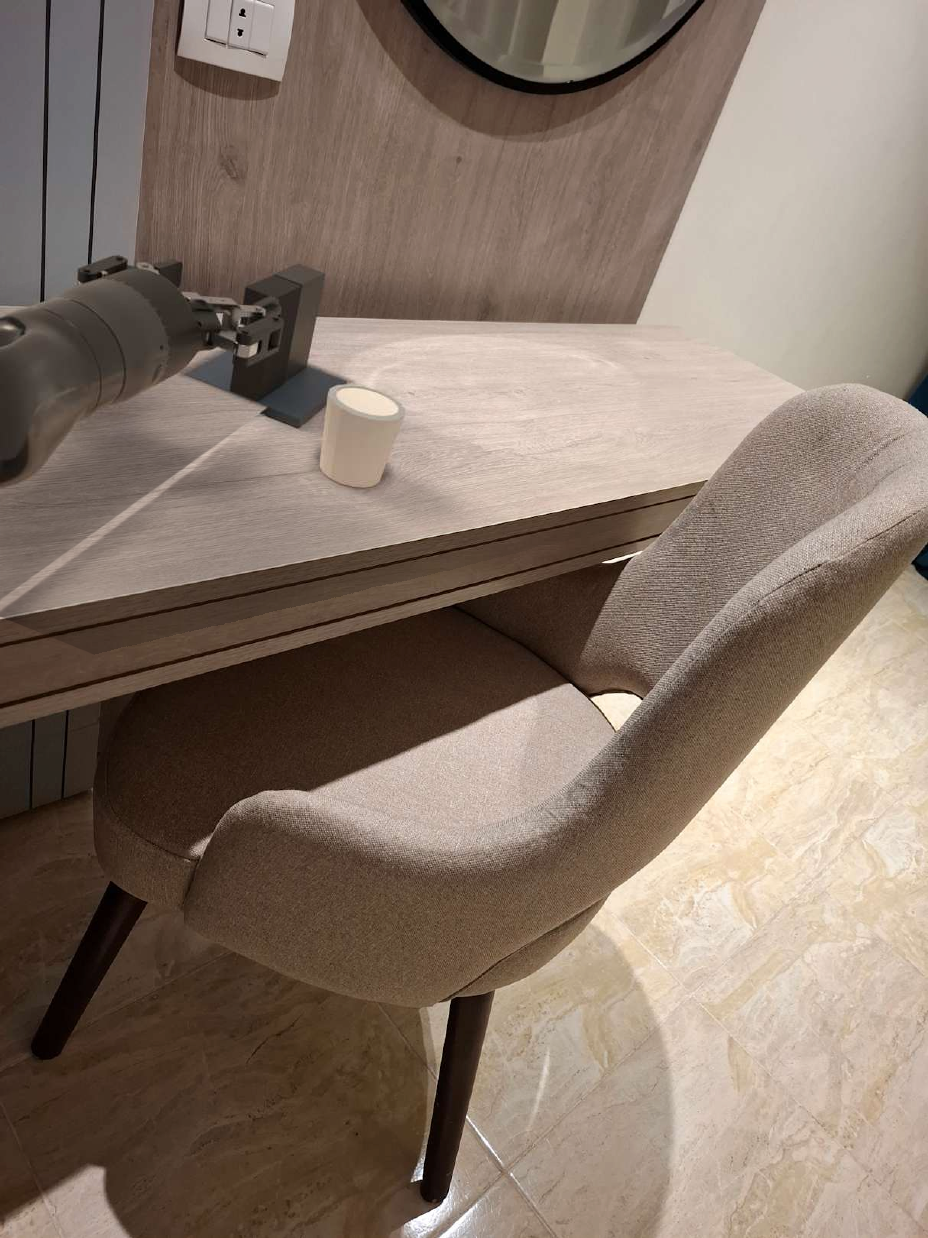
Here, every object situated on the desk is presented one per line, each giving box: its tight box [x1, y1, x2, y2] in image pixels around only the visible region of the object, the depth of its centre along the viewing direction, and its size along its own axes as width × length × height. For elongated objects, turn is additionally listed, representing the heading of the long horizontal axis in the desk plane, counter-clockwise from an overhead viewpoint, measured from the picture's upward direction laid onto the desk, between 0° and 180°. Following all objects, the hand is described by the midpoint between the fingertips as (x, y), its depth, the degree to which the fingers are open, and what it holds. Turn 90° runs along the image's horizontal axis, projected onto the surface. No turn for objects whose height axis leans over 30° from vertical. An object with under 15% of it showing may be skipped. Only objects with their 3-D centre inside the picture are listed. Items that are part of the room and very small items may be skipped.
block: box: [230, 274, 302, 401], centre depth 86 cm, size 3×6×10 cm, turn 165°
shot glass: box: [319, 383, 406, 489], centre depth 80 cm, size 7×7×7 cm
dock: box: [184, 262, 348, 428], centre depth 89 cm, size 12×13×11 cm
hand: (225, 290), depth 74 cm, fingers open, 8 cm apart
